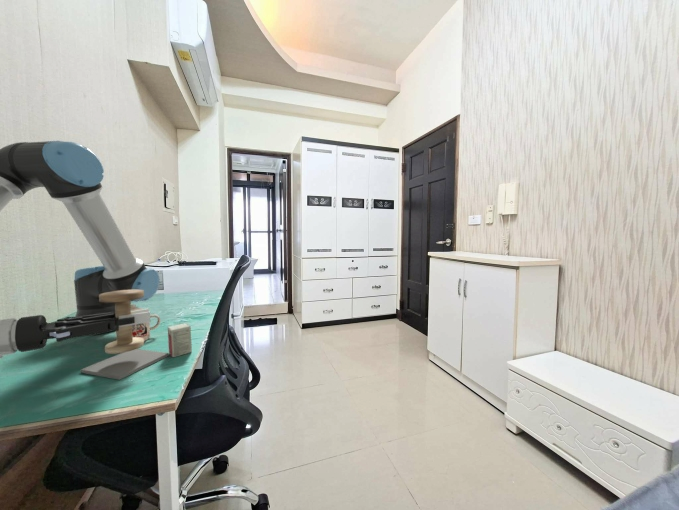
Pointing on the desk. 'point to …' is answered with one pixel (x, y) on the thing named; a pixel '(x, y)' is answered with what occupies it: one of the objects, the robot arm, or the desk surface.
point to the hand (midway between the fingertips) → (149, 315)
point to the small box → (179, 339)
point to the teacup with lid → (142, 326)
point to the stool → (122, 307)
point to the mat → (124, 363)
